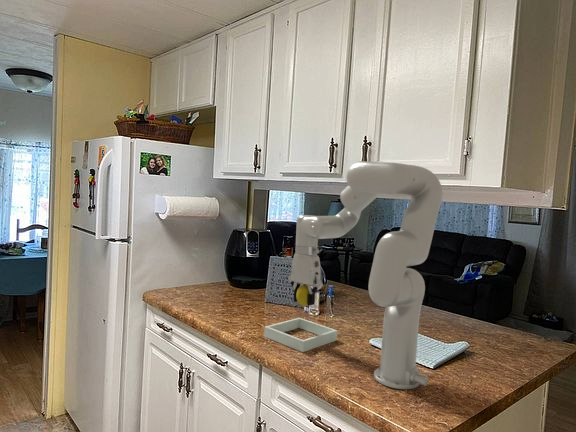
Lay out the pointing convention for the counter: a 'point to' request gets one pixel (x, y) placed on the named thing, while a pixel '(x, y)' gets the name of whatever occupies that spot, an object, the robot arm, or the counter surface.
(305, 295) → the lemon
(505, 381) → the counter surface
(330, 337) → the pale green square frame
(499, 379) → the counter surface
